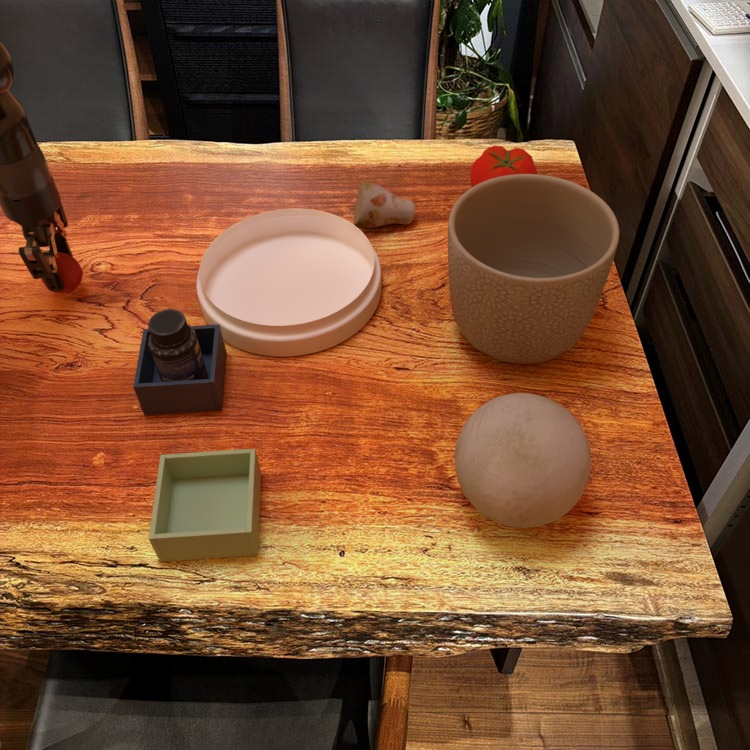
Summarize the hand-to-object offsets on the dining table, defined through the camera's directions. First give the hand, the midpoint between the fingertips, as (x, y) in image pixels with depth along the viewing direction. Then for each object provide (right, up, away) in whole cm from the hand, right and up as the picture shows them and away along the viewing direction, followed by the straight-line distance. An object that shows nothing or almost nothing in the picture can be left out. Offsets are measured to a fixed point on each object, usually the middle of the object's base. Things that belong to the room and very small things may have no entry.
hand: (61, 274), depth 118 cm
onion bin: (+27, -31, -23) cm, 47 cm away
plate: (+33, -2, +3) cm, 34 cm away
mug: (+47, +10, +13) cm, 50 cm away
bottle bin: (+20, -16, -9) cm, 27 cm away
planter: (+66, -9, -4) cm, 67 cm away
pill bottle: (+20, -16, -9) cm, 27 cm away
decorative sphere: (+63, -29, -22) cm, 72 cm away
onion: (0, -3, +3) cm, 4 cm away
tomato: (+67, +15, +16) cm, 71 cm away
